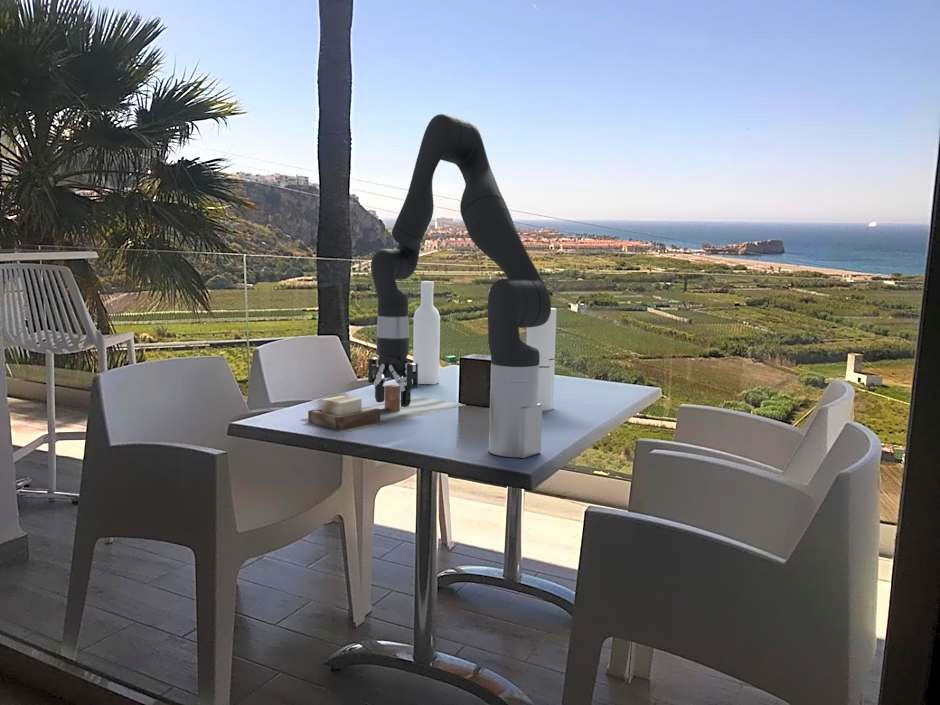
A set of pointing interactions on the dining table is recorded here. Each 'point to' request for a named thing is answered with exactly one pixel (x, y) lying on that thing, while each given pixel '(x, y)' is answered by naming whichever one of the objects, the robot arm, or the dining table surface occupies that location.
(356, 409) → the rod-linked blocks
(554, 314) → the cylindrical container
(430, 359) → the bottle
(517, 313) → the robot arm
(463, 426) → the dining table surface
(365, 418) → the lane rack
